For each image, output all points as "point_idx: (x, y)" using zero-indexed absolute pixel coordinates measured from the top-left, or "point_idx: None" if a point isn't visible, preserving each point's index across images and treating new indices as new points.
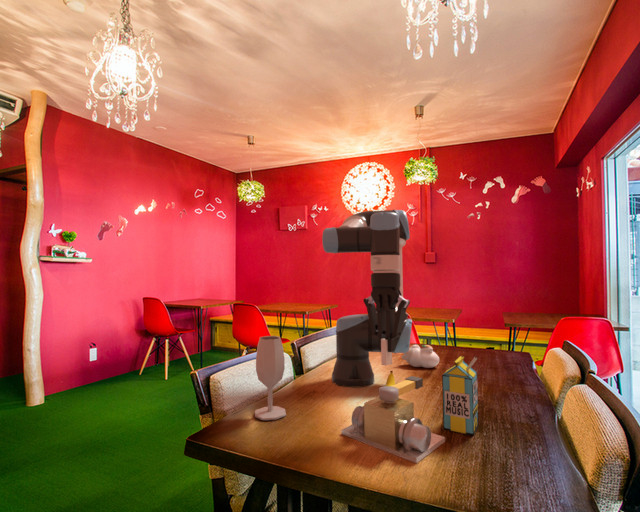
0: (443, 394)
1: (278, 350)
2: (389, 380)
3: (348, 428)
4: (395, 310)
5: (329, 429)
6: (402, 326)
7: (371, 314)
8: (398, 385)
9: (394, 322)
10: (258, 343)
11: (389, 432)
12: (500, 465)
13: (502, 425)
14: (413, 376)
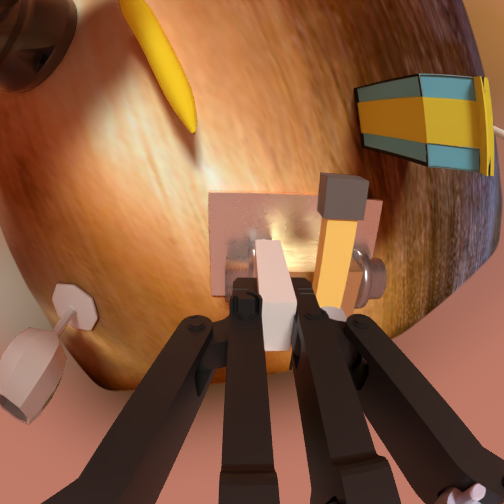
0: (399, 155)
1: (39, 397)
2: (132, 14)
3: (217, 283)
4: (384, 461)
5: (182, 289)
6: (403, 361)
7: (169, 468)
8: (330, 283)
9: (350, 386)
10: (15, 408)
11: None
12: (449, 223)
13: (432, 68)
14: (336, 178)
